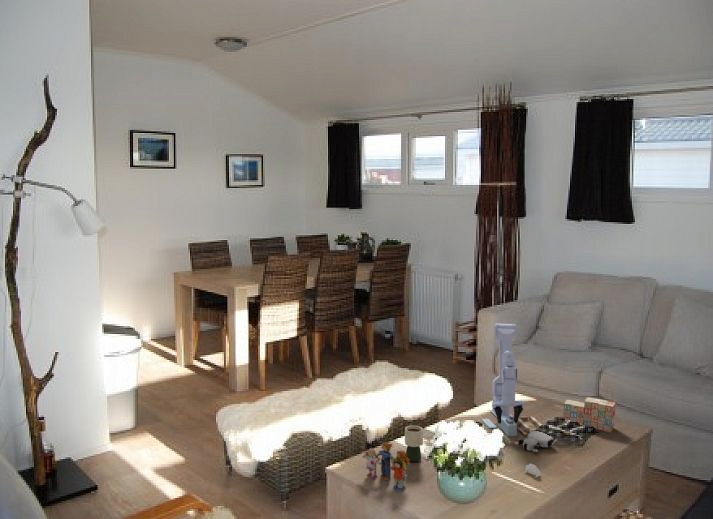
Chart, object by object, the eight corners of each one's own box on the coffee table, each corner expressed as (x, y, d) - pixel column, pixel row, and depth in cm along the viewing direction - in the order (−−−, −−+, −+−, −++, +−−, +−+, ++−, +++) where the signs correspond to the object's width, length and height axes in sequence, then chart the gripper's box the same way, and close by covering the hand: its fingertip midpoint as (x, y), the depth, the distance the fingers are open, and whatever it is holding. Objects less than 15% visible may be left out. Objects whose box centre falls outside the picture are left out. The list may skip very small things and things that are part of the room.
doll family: (360, 474, 240) (361, 441, 238) (377, 466, 247) (378, 433, 245) (403, 493, 225) (404, 458, 224) (420, 484, 232) (421, 450, 231)
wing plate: (481, 421, 294) (481, 419, 294) (488, 421, 295) (488, 418, 295) (489, 429, 285) (489, 427, 285) (496, 429, 285) (496, 427, 285)
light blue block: (497, 425, 289) (498, 413, 288) (506, 425, 289) (506, 412, 288) (507, 436, 277) (508, 423, 276) (516, 436, 277) (517, 422, 277)
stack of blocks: (562, 422, 293) (564, 396, 292) (566, 418, 299) (567, 393, 297) (611, 432, 282) (613, 406, 280) (614, 428, 287) (615, 402, 286)
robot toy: (536, 458, 257) (558, 446, 266) (536, 448, 256) (558, 436, 265) (512, 448, 266) (534, 437, 275) (512, 438, 266) (534, 427, 275)
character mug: (428, 462, 250) (429, 431, 248) (414, 467, 246) (415, 435, 244) (411, 452, 259) (412, 422, 257) (397, 456, 255) (398, 426, 253)
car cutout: (545, 476, 241) (545, 464, 240) (535, 481, 237) (536, 470, 236) (512, 462, 252) (512, 451, 252) (502, 467, 248) (502, 456, 247)
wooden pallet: (509, 422, 292) (510, 416, 292) (534, 420, 294) (534, 414, 294) (524, 436, 277) (524, 429, 276) (549, 434, 279) (550, 428, 278)
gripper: (496, 396, 276) (495, 426, 277) (527, 395, 278) (526, 424, 280) (490, 391, 282) (489, 420, 284) (521, 390, 285) (520, 418, 286)
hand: (507, 422), depth 282 cm, fingers open, 7 cm apart
